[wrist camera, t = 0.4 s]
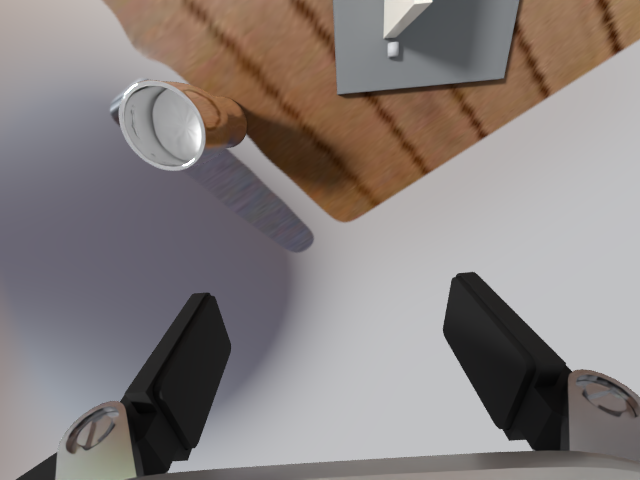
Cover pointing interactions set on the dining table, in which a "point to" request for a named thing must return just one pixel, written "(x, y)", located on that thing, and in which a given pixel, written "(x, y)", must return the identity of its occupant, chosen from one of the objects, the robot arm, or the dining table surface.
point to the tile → (401, 15)
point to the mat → (421, 44)
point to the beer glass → (179, 124)
